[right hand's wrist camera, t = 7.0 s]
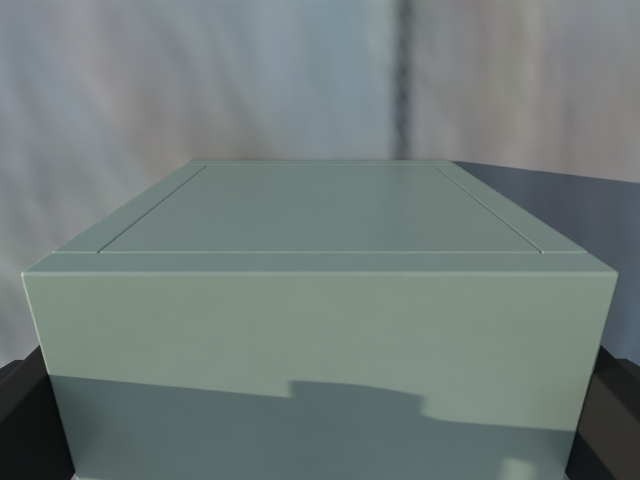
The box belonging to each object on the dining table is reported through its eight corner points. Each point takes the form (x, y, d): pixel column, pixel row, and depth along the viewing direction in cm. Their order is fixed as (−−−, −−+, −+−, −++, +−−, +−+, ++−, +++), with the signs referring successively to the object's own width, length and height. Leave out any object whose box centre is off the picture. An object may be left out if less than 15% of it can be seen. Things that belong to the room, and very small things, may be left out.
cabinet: (411, 516, 26) (473, 812, 15) (228, 516, 26) (167, 812, 15) (450, 160, 18) (622, 272, 8) (189, 160, 18) (17, 273, 8)
